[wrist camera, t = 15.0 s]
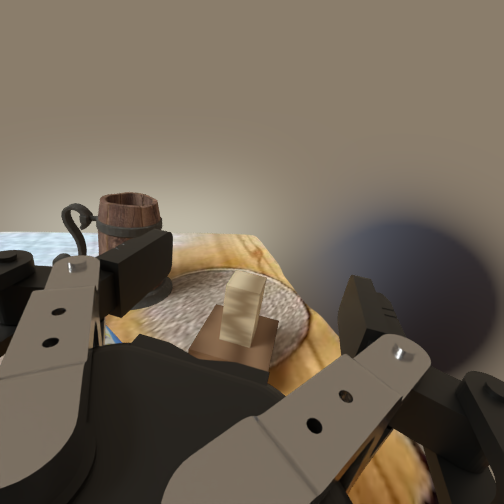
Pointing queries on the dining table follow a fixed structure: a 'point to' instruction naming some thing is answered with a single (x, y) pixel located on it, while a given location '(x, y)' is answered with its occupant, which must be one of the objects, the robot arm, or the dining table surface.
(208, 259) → the dining table surface
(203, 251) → the dining table surface
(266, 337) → the walnut block
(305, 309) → the dining table surface
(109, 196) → the tankard
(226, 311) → the maple block
